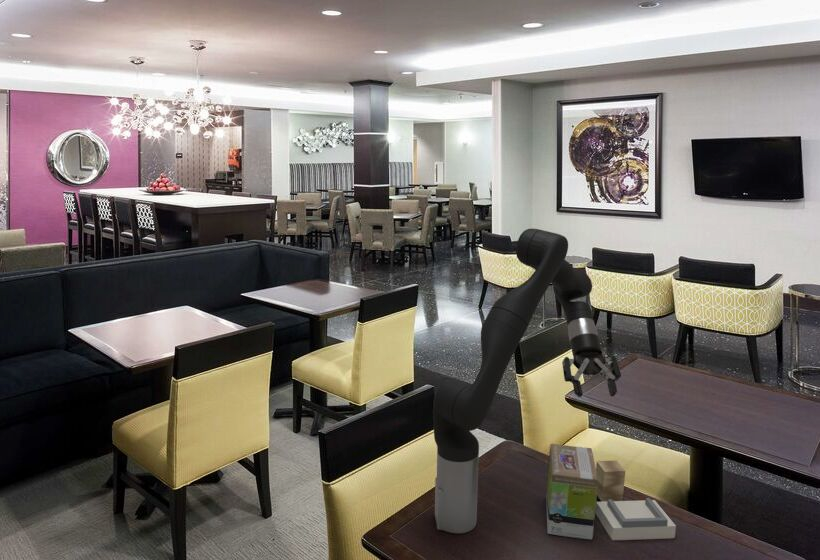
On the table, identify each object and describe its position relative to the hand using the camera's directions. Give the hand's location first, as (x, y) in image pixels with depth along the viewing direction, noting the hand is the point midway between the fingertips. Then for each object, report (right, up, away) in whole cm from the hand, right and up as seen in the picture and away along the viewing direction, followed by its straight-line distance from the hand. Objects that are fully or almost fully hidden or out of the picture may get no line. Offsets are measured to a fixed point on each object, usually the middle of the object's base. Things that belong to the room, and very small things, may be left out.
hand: (596, 395), depth 151 cm
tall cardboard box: (+1, -24, -7) cm, 25 cm away
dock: (+3, -26, -16) cm, 31 cm away
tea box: (-11, -26, -14) cm, 31 cm away
